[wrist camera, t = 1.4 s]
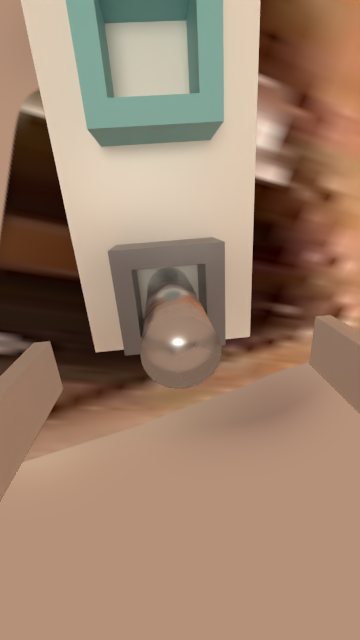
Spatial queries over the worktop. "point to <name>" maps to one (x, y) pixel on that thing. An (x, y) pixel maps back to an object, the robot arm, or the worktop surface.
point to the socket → (157, 110)
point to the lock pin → (177, 333)
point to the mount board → (154, 173)
